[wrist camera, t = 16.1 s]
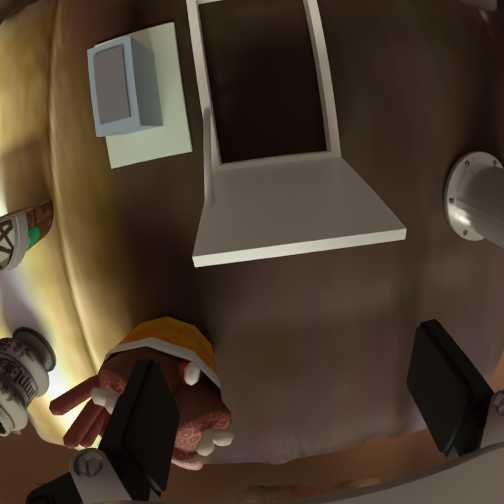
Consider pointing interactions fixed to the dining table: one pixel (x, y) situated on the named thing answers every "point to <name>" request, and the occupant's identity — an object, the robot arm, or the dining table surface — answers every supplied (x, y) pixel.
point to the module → (124, 88)
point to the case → (283, 184)
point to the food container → (23, 232)
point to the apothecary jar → (22, 375)
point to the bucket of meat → (178, 379)
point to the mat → (171, 101)
